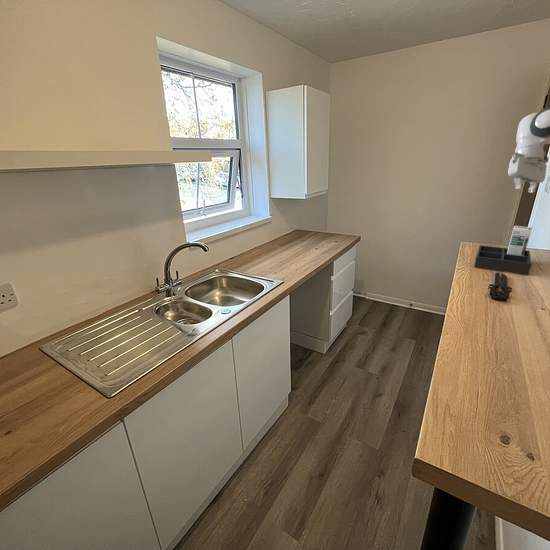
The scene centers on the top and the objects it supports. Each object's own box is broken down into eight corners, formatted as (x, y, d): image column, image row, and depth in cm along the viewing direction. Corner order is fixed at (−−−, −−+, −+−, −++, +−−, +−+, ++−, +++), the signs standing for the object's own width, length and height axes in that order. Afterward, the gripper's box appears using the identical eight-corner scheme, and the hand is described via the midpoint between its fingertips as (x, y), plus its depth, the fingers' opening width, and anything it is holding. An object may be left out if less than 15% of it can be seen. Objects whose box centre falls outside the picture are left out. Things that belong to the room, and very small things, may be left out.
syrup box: (504, 262, 124) (513, 227, 119) (505, 258, 129) (514, 224, 123) (521, 264, 121) (531, 229, 115) (522, 260, 125) (532, 226, 119)
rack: (526, 261, 126) (529, 250, 124) (528, 275, 113) (531, 263, 111) (477, 255, 135) (479, 245, 134) (474, 267, 123) (476, 256, 121)
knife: (494, 273, 116) (495, 270, 116) (515, 276, 112) (516, 273, 112) (484, 297, 99) (485, 294, 98) (508, 303, 95) (509, 299, 94)
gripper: (523, 148, 115) (520, 185, 115) (550, 159, 123) (547, 192, 124) (504, 153, 120) (501, 188, 121) (532, 163, 129) (529, 195, 130)
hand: (525, 190), depth 122 cm, fingers open, 8 cm apart
